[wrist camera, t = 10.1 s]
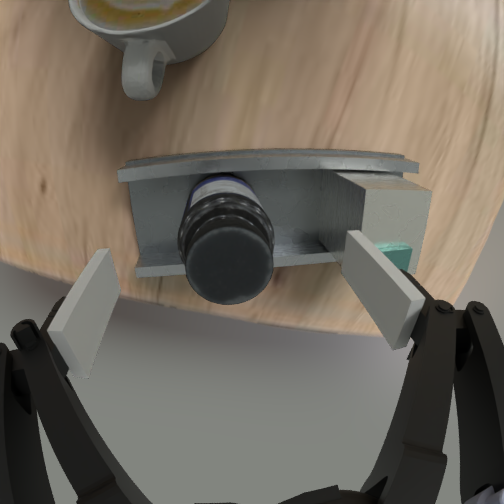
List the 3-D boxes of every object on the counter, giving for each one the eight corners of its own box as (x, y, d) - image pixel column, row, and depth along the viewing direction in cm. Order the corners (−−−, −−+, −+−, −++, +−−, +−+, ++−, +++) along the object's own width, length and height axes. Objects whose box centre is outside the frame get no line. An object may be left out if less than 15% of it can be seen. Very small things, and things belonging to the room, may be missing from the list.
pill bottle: (235, 249, 27) (251, 329, 17) (175, 221, 25) (154, 292, 15) (269, 191, 25) (309, 245, 15) (206, 159, 23) (201, 191, 13)
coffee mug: (139, -30, 14) (111, -82, 5) (242, -15, 17) (260, -73, 8) (89, 93, 19) (26, 88, 10) (192, 112, 22) (178, 108, 13)
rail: (128, 160, 23) (85, 186, 14) (398, 154, 25) (464, 176, 17) (144, 261, 27) (121, 324, 19) (387, 242, 30) (438, 287, 21)
